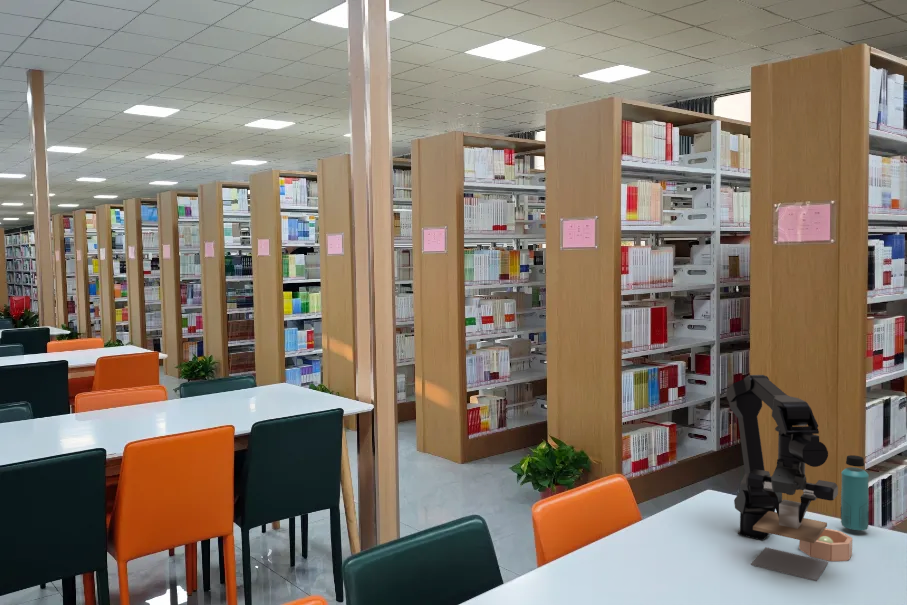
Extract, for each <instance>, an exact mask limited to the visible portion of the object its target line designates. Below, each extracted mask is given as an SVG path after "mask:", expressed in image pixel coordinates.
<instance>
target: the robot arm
mask: <svg viewBox="0 0 907 605" xmlns="http://www.w3.org/2000/svg"><path fill="white" fill-rule="evenodd" d="M726 399H727V401H728V404H729V408H730V410H731V412H732V413H733V415H735V416H736V418H737V421H738V429H739V436H740V444H741V445H740V446H741V454H742V460H743V461H742V462H743V468H744V475H743V477H742V479H741V481H740V484H739V490H740V491H739V492H738V493H737V495H736V497H735V498H734V500H733V501H734V502H733V504H734V508H735V509H736V510H737V511H738V512H739V531H738V532H737V535H739V536H742V537H747V538H751V539H756V540H760V541H764V540H766V538H767V537H768V536H770V535H771V534H770V533H766V532H761V531H757V530H753V526H754V525H755V524H756V523H757V522H758V521H759V520H760V519H761V518H762V517H763V516H764V515H765V514H766V513H767V512H768V511H772V512H777V514H778V517H779V504H780V503H781V502H782V501H783V494H785V495H788V496H793V495H796V491H799V490H800V491H802V492H803V493H802V494H801V496H799V498H800V503H801V505H800V512H799V523H801V522H802V520H803V518H805V516H806V514H807V511H808V508H809V506H810V504H811V503H812V501H816V500H817V499H820V500H825V501H834V500H835V499H836V498H837V496H839V495H838V494H839V486H838V484H837V483H836V482H834V481H827V480H822V479H819V480H817V482H815V483H812V482H807V477H806V465H807V466H809V467H812V468H816V467H820V466H823V465H824V464H825V463H826V462H827V459H828V456H829V451H828V448H827V447H826V445H825V443H823V442H821V441H820V435H818V434H819V433H820V431H819V424H818V422H817V420H816V418H815V415H814V413H813V410H812V408H811V406H810V405H809V403H808V402H807V401H806V400H803V399H802V398H799V397H795V396H790V395H787V393H785V392H784V391H783V390H782V389H780V388H779V387H778V386H777V385H775V383H773V382H772V381H771V380H770V379H769V377H768V375H764V374H748V375H746V376H745V377H744V378H743V379H741V380H738V381H736V382H733V383H732V384H731V385H730V386H729V387H728V388H727V390H726ZM763 402H764V404H765V405H766V406H768V408H770V410H771V417H772V419H773V420H774V422H775V423H776V425H777V426H776V427H775V428H774V430H775V431H776V432H778V441H777V442H778V443H777V446H778V447H777V460H776V467H775V468H774V471H773V473H772V476H771V474H770V470H768V471H767V470H765V463H764V455H763V449H762V441H761V440H762V439H761V434H760V428H759V427H760V426H759V421H758V420H759V419H758V416H759V413H760V412H761V410H762V408H763Z"/></svg>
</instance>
